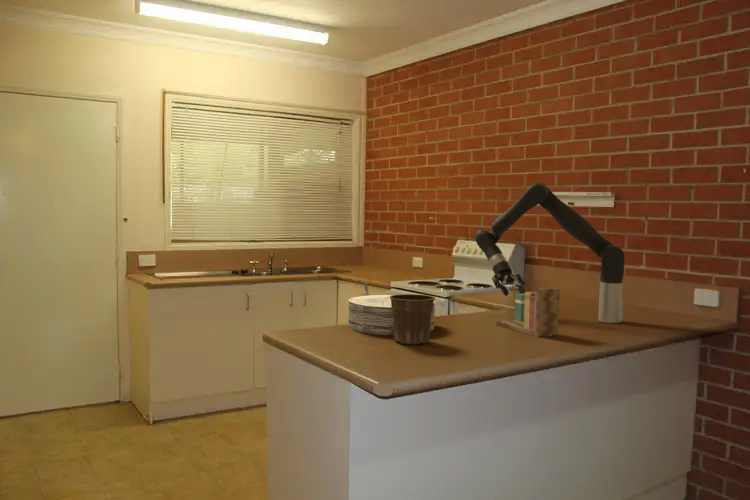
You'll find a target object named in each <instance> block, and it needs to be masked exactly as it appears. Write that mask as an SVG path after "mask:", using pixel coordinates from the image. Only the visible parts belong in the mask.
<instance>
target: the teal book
mask: <svg viewBox="0 0 750 500" xmlns="http://www.w3.org/2000/svg"><path fill="white" fill-rule="evenodd" d="M514 299H515V300H514V320H517V321H521V322H524V307H525V293H524V294H520V293H515V298H514Z"/></svg>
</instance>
